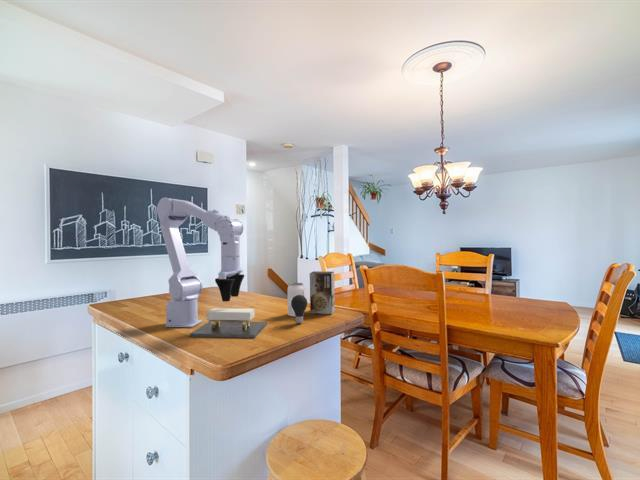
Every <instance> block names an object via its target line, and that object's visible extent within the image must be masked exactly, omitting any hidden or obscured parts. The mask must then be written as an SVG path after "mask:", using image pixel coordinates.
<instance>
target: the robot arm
mask: <svg viewBox="0 0 640 480" xmlns="http://www.w3.org/2000/svg"><path fill="white" fill-rule="evenodd" d="M155 209H156V213H157V216H158V220H159V225H160V226H159V227H160V230H161V234H162V237H163V240H164V244H165V247H166V252H167V256H168V259H169V262H170V266H171V270H172V275H171V276H170V277H169V278H168V280H167V281H168V285H169V287H168V292H169V293H168V294H169V295H170V297H171V298H170V299H169V300H168V301H167V304H166V309H165V310H166V311H165V312H166V315H165V316H166V317H165V318H166V321H165V322H166V325H164V327H165V328H193V327H195V326H196V325H198V324H200V323H201V322H202V323H203V319H198V316H199V314H198V309H199V308H198V298H199V297H200V294H201V293H202V292H203V287H204V286H203V282H202V281H201V279H200V278H199V276H198V273H197V272H196V271H194V270H192V269H191V267H190V264H189V260H188V257H187V253H186V250H185V246H184V244H183V239H182V236H181V234H180V230H179V228H180V226H182V225H183V223H184V222H185V221H186V220H187V219H188V218H189V216H192V217H194V218H197V219H199V220H201V221H202V224H203V225H204V226H205V227H208V228H209V229H211V230H213V231H215V232H216V233H217V234H218V235H219V241H220V263H221V264H220V266H221V267H220V269H221V270H220V271H219V272H217V273H218V277H217V278H214V279H215V280H214V281H215V284H216V285H217V287H218V290H219V292H220V297H221V300H222V301H221V302H230V301H231V297H237V298H238V296H239V295H240V290H241V285H242V282H243V280H244V278H245V274H242V273H244V270H243V269H241V267H240V266H241V265H240V254H241V253H240V252H241V251H240V237H241V236H242V234H243V232H244V225H243V223H242V221H240V220H239V219H231V218H230V216H229V215H226V214H225V215H224V214H222V213H220V210H217V209H210V210H209V209H208V210H206V209H203V208H202V207H200V206H198V205H196V204H195V203H193V202H191V201H188V200H186V199H176V198H168V197H162V198H161V199H159V201H158V203H157V205H156V207H155Z"/></svg>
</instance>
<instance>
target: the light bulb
mask: <svg viewBox="0 0 640 480" xmlns="http://www.w3.org/2000/svg"><path fill="white" fill-rule="evenodd" d="M291 306H292V308H293V310H294V312H295V316H296V317H295V322H296V323H297V324H298V325H301V324H302V323H303V322H304V315H305V311H306V309H307V307H308V300H307V298H306V297H305V295H304V296H303V295H296V296H295V297H293V299H292V301H291Z"/></svg>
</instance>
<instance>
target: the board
mask: <svg viewBox="0 0 640 480" xmlns="http://www.w3.org/2000/svg"><path fill="white" fill-rule="evenodd" d="M255 310H256V309H255V308H221V307H218V308H216V307H215V308H211V309H209V310H207V311H206V320H207V321H211V320H220V321H242V320H250V321H251V320H252V319H254V318H255V316H256V315H255V314H256V313H255V312H256V311H255Z"/></svg>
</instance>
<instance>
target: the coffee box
mask: <svg viewBox="0 0 640 480" xmlns="http://www.w3.org/2000/svg"><path fill="white" fill-rule="evenodd" d="M335 300H336V299H335V271H323V270H322V271H321V270H320V271H314V270H313V271H311V272H309V307H310V308H309V310H310V311H309V313H310V314H315V313H319V315H333V313H334V312H336V305H335V303H336V301H335Z"/></svg>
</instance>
